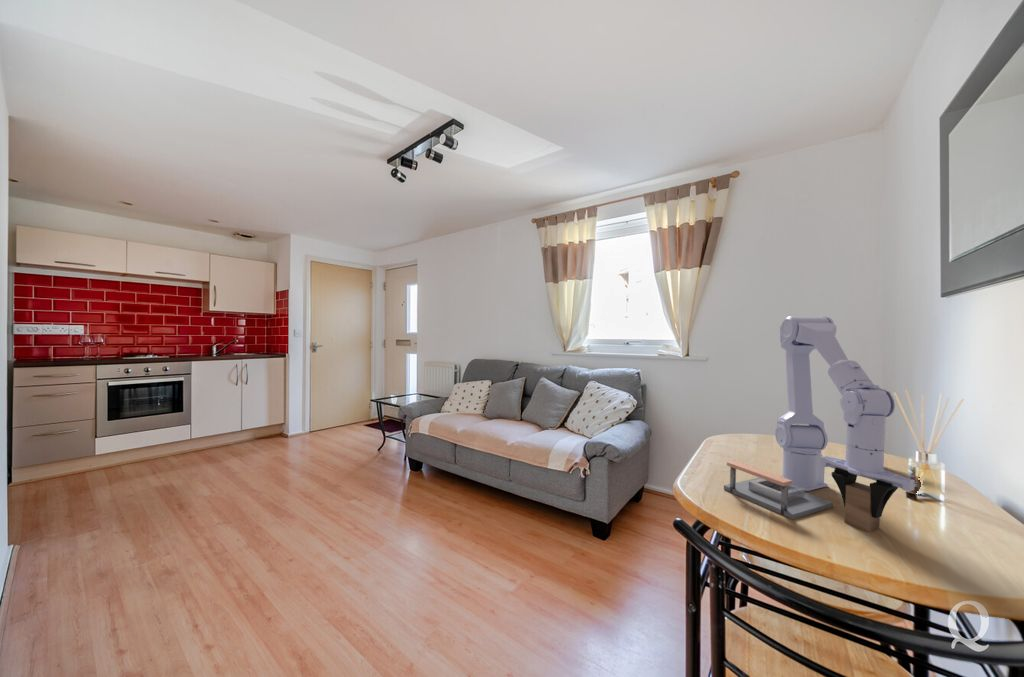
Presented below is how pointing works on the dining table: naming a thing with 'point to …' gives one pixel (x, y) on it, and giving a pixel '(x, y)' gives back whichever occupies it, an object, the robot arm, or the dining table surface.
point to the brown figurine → (916, 488)
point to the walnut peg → (860, 507)
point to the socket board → (774, 492)
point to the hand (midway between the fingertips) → (862, 511)
